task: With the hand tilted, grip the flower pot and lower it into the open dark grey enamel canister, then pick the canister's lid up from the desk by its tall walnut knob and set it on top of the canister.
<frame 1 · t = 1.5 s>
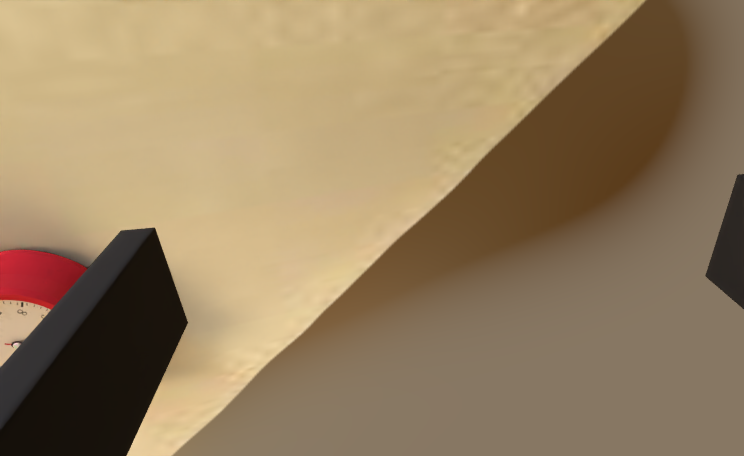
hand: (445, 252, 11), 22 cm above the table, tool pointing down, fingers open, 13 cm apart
alarm clock: (63, 315, 35), on the table
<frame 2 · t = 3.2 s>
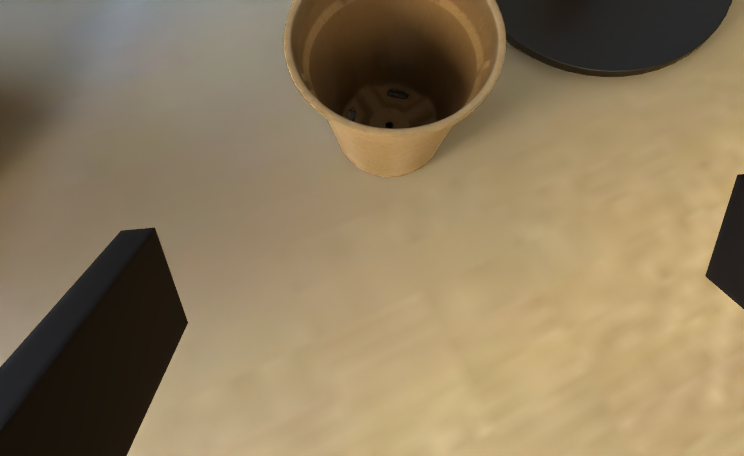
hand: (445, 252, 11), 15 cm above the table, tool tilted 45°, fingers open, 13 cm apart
flower pot: (390, 131, 28), on the table
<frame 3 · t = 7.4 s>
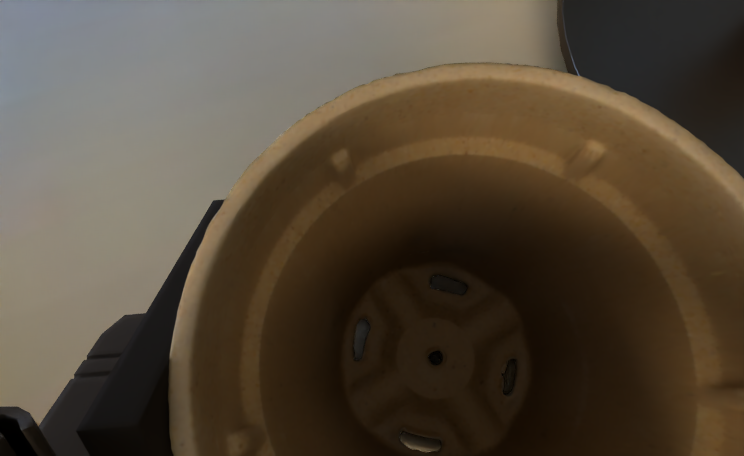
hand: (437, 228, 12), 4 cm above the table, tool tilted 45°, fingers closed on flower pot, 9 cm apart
flower pot: (436, 357, 15), on the table, touching gripper
when the fingers open (14 cm above the table, at t = 17.0 s): flower pot drops 9 cm, resting on canister.
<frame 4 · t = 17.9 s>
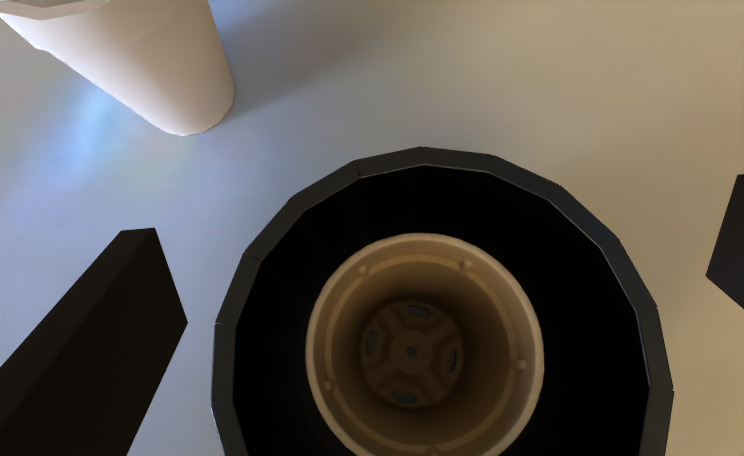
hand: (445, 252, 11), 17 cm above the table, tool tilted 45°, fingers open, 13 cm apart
foam cup: (190, 96, 33), on the table
canister: (417, 358, 27), on the table
flower pot: (412, 352, 27), resting on canister
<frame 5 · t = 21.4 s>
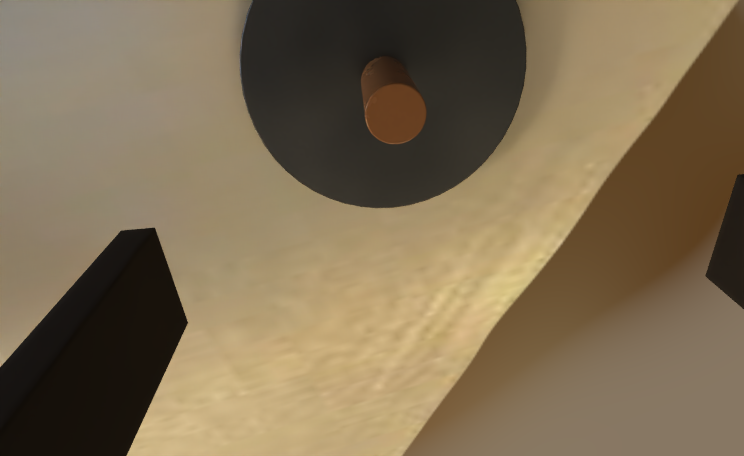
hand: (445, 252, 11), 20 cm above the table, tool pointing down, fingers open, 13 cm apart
lid: (383, 78, 28), point 1 cm above the table
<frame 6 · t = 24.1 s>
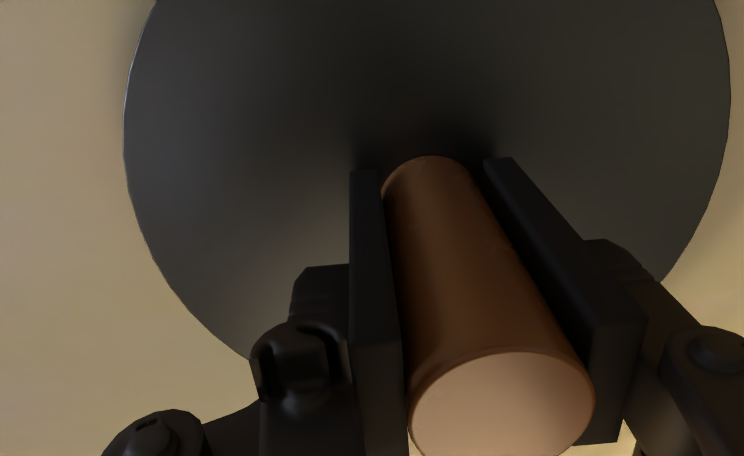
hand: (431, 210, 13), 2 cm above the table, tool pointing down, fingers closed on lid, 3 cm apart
lid: (425, 192, 14), point 1 cm above the table, touching gripper
when the fingers open (13 cm above the table, at t = 29.9 s): lid stays where it is, resting on canister.
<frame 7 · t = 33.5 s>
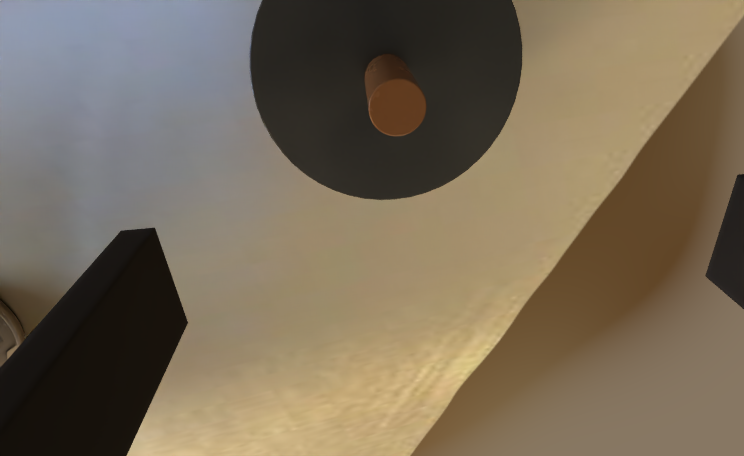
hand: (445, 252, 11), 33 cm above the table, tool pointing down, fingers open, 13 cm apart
lid: (386, 75, 30), point 11 cm above the table, touching canister
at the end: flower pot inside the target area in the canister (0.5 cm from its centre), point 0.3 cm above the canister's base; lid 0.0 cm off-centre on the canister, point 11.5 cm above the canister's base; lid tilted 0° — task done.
